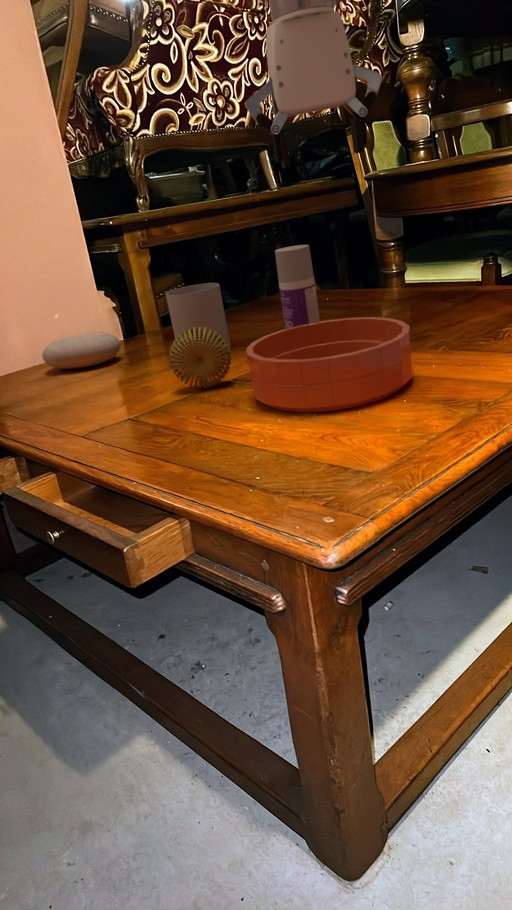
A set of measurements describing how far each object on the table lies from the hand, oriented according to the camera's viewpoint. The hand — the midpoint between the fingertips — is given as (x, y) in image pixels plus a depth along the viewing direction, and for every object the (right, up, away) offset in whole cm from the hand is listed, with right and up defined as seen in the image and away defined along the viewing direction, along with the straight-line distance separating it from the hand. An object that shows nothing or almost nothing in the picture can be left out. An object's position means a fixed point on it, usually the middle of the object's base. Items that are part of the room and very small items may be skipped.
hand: (322, 159), depth 89 cm
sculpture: (-15, -29, +1) cm, 33 cm away
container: (-2, -25, +5) cm, 26 cm away
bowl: (0, -30, -8) cm, 31 cm away
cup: (-17, -22, +20) cm, 34 cm away
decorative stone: (-37, -24, +25) cm, 51 cm away
